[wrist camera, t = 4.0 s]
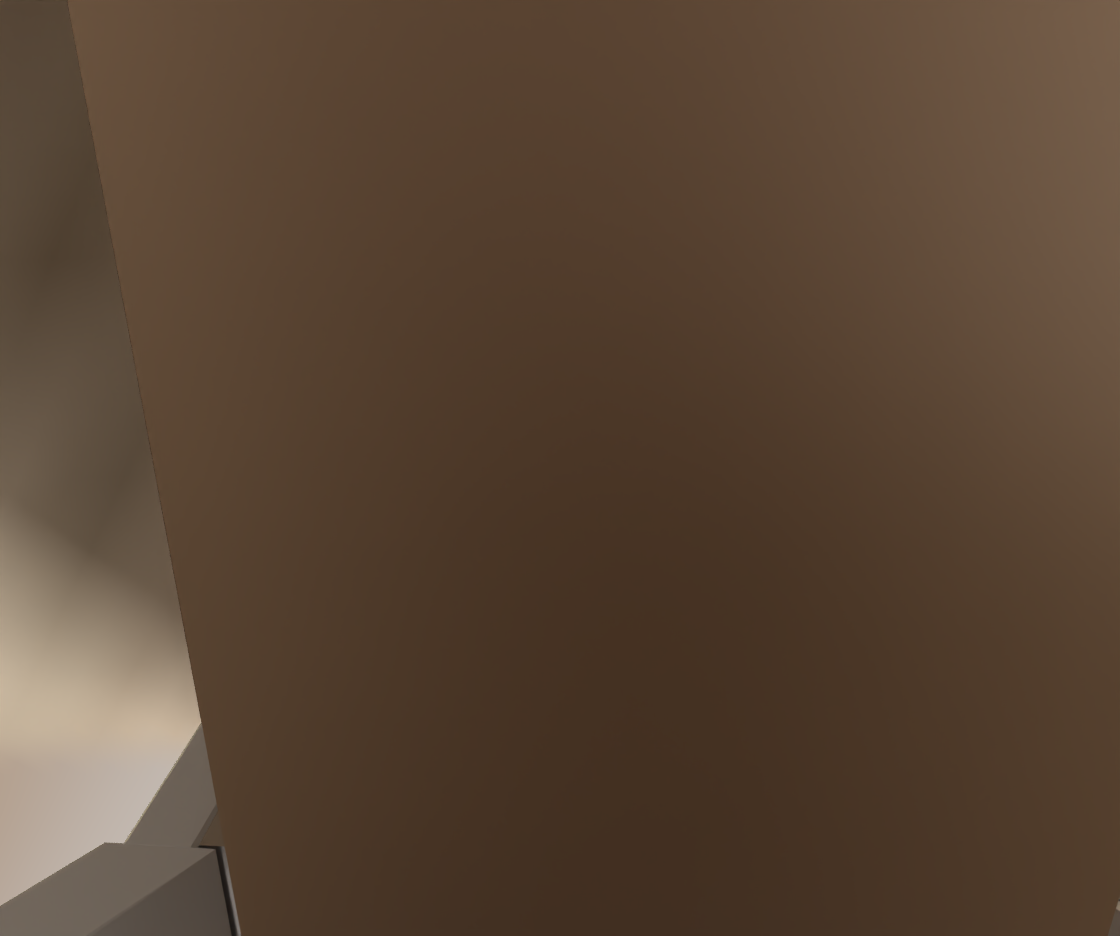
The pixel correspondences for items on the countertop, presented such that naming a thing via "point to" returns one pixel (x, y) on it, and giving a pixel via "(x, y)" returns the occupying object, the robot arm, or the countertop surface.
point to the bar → (635, 453)
